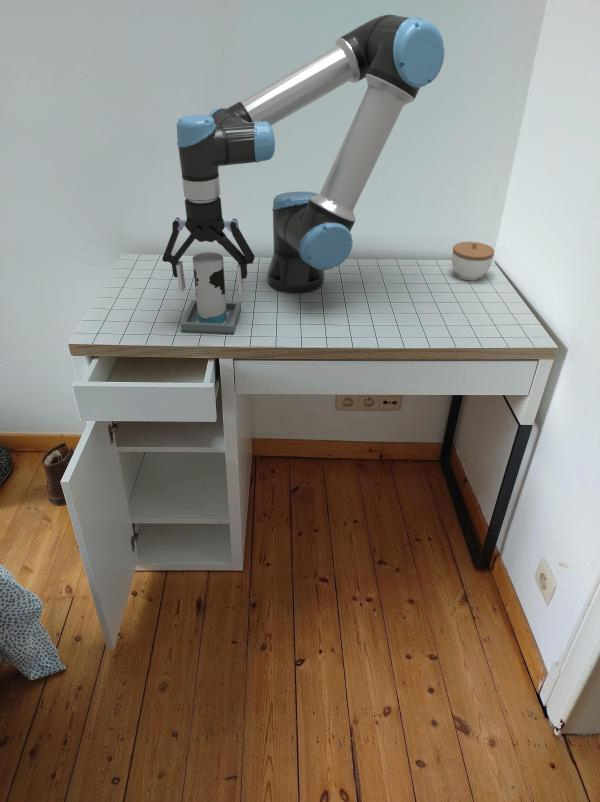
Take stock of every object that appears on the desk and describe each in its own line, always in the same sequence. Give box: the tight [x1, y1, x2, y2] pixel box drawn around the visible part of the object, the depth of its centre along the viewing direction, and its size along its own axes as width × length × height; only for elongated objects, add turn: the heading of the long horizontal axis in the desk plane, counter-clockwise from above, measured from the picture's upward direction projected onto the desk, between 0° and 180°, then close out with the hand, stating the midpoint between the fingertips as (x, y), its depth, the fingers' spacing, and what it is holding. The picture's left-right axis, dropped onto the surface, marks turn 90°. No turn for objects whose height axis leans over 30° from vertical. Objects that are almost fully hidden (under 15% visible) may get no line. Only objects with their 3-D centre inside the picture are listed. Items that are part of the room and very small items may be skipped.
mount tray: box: [180, 299, 242, 336], centre depth 143 cm, size 12×12×2 cm
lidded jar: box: [451, 241, 495, 281], centre depth 163 cm, size 11×11×9 cm
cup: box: [192, 251, 227, 323], centre depth 139 cm, size 7×7×15 cm
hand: (211, 290), depth 139 cm, fingers open, 13 cm apart
